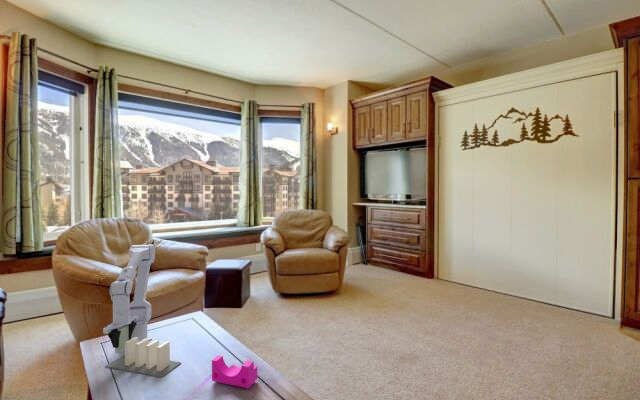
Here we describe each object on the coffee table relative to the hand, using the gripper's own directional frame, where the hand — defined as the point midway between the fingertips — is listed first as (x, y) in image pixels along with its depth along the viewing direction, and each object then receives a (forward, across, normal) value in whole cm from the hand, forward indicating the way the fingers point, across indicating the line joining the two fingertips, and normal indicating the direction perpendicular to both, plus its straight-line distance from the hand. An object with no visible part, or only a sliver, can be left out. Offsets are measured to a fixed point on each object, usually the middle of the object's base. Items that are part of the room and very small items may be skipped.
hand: (121, 344), depth 128 cm
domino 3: (+7, 0, -15) cm, 16 cm away
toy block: (+8, +1, -50) cm, 51 cm away
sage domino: (+2, 0, 0) cm, 2 cm away
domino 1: (+7, 0, -5) cm, 8 cm away
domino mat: (+7, 0, -10) cm, 13 cm away
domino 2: (+7, 0, -10) cm, 12 cm away
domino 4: (+7, 0, -20) cm, 21 cm away
